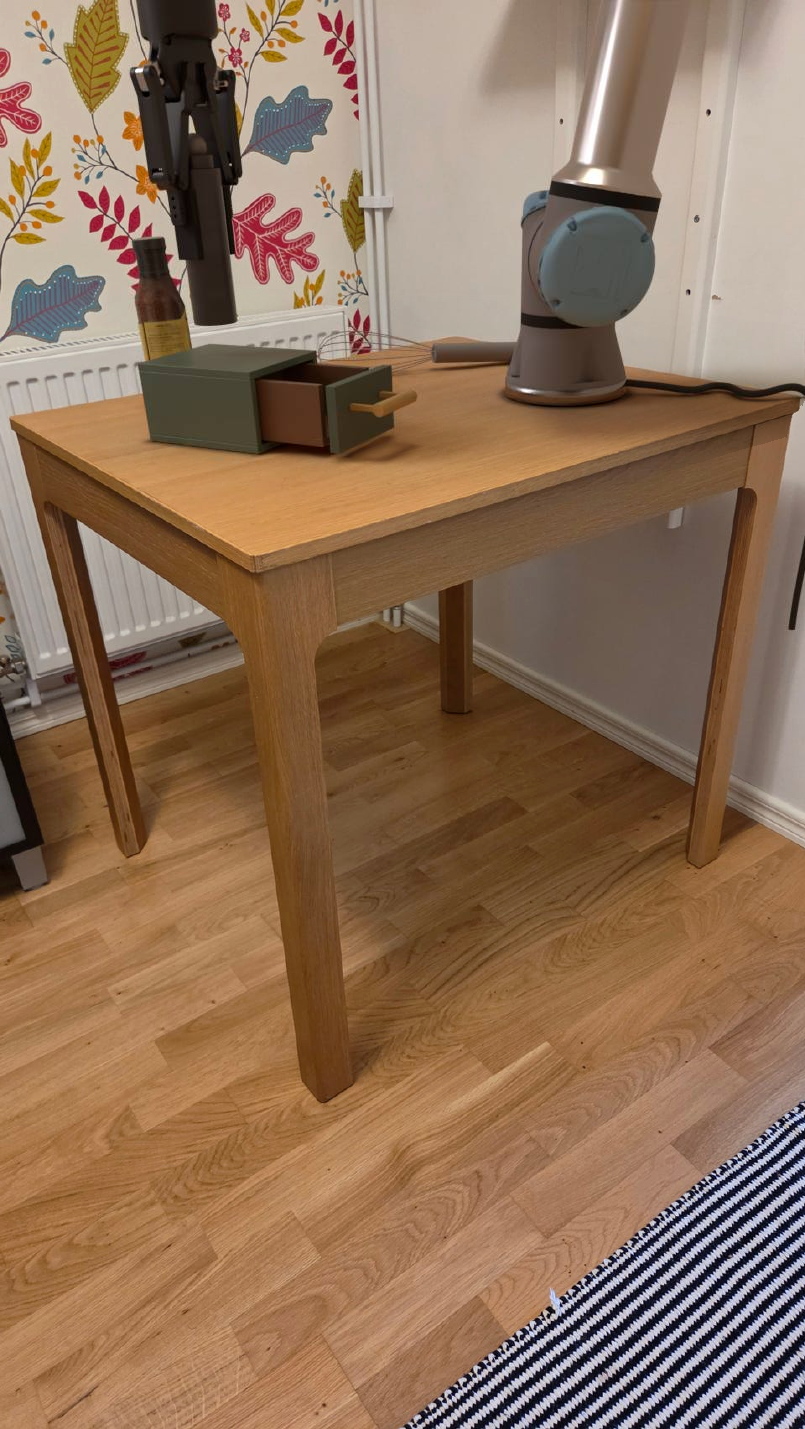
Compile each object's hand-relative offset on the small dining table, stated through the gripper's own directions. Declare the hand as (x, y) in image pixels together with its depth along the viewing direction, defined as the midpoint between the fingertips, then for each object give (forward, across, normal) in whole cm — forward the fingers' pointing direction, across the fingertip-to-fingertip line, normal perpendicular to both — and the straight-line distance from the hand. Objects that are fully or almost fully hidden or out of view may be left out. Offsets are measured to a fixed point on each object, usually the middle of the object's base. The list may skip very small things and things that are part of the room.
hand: (207, 256), depth 107 cm
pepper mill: (+7, 0, 0) cm, 7 cm away
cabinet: (+19, 0, +1) cm, 19 cm away
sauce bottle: (+19, -10, -17) cm, 27 cm away
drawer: (+18, 0, +14) cm, 23 cm away
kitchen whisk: (+19, -40, +5) cm, 45 cm away
